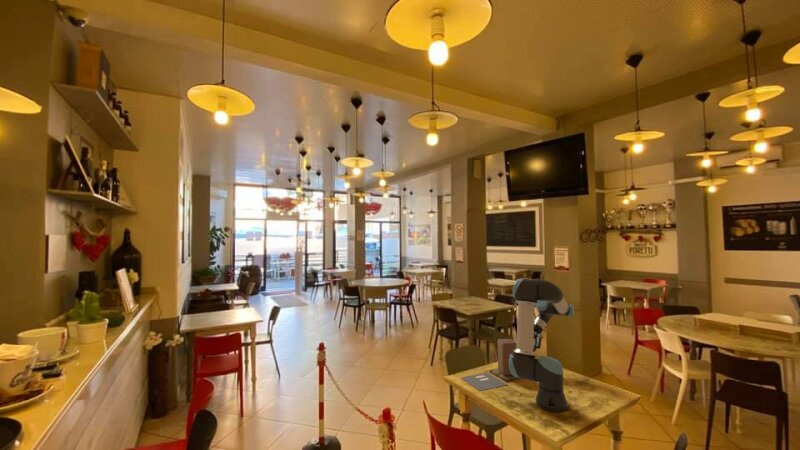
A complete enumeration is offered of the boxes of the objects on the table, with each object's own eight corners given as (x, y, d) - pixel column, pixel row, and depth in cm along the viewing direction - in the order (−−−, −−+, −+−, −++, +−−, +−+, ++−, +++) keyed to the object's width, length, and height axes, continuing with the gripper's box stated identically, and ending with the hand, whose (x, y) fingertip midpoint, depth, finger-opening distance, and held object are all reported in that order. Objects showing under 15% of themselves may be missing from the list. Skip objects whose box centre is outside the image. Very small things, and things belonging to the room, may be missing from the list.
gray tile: (507, 385, 199) (507, 384, 199) (479, 391, 192) (479, 390, 192) (486, 372, 218) (486, 372, 218) (460, 377, 210) (460, 377, 210)
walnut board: (526, 377, 209) (526, 375, 210) (505, 381, 203) (505, 379, 204) (509, 368, 224) (509, 366, 224) (489, 372, 218) (489, 369, 218)
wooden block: (518, 375, 209) (518, 343, 210) (503, 376, 209) (502, 343, 209) (512, 369, 219) (511, 338, 220) (497, 369, 219) (496, 338, 219)
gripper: (556, 334, 214) (538, 362, 208) (527, 325, 237) (511, 349, 231) (549, 327, 212) (531, 354, 206) (521, 318, 236) (504, 343, 229)
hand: (520, 352), depth 219 cm, fingers open, 13 cm apart
